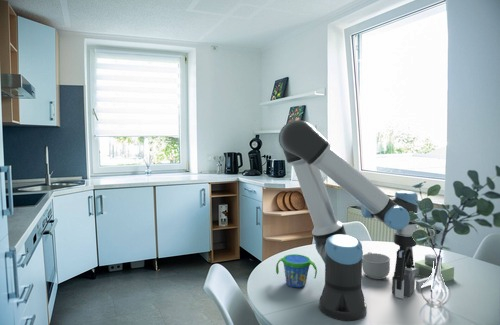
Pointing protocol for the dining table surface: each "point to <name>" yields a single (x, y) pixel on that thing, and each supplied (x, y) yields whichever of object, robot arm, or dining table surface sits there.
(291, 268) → the snack cup
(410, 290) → the dark grey stepped block
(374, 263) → the teacup
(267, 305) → the dining table surface
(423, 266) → the green and grey blocks
